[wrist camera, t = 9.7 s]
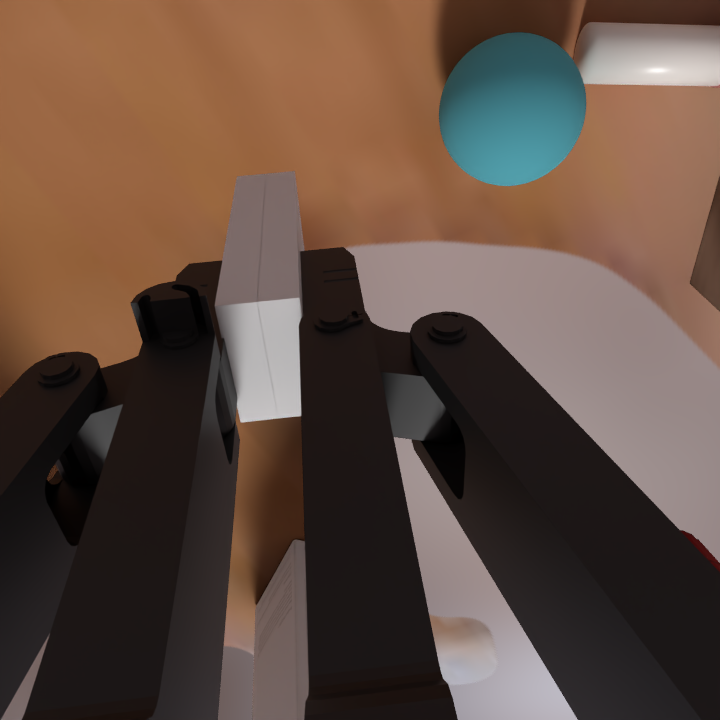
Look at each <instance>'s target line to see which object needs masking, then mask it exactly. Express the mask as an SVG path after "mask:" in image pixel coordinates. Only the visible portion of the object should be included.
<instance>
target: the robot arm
mask: <svg viewBox="0 0 720 720" xmlns="http://www.w3.org/2000/svg"><path fill="white" fill-rule="evenodd" d="M131 306H132V309H133V313H134V316H135V319H136V322H137V325H138V328H139V332H140V335H141V338H142V341H143V343H142V346H141V349H140V352H139V356H137V357H135V358H133V359H130V360H127V361H124V362H121V363H118V364H114V365H111V366H108V367H104V368H100V366H99V363H98V360H97V358H95V357H94V356H92V355H91V354H89V353H83V352H67V353H66V352H65V353H59V354H57V355H52V356H49V357H47V358H46V359H44V360H42V361H40V362H38V363H36V364H34V365H33V366H32V367H30V368H29V369H28V370H27V371H25V372H24V373H23V374H22V375H21V377H20V378H19V379H18V380H17V381H16V382H15V383H14V384H13V385H12V386H11V387H10V388H9V389H8V391H7V392H6V393H5V394H4V395H3V396H2V397H1V398H0V720H1V719H2V717H3V715H4V713H5V711H6V710H7V708H8V706H9V704H10V703H11V701H12V699H13V697H14V696H15V694H16V692H17V690H18V689H19V687H20V685H21V683H22V682H23V680H24V678H25V676H26V674H27V673H28V671H29V669H30V667H31V666H32V664H33V662H34V660H35V659H36V657H37V655H38V653H39V652H40V650H41V648H42V646H43V645H44V643H45V641H46V639H47V637H48V636H49V638H48V641H47V644H46V647H45V650H44V654H43V657H42V660H41V663H40V666H39V669H38V672H37V676H36V679H35V682H34V685H33V688H32V691H31V694H30V698H29V701H28V704H27V707H26V710H25V713H24V715H23V718H22V720H218V707H219V695H220V682H221V670H222V658H223V657H222V656H223V645H224V633H225V620H226V607H227V595H228V582H229V570H230V557H231V544H232V532H233V519H234V507H235V494H236V481H237V469H238V456H239V444H240V439H239V434H238V430H237V425H236V421H235V419H236V408H238V412H239V417H240V421H241V422H250V421H259V420H268V419H277V418H287V417H296V416H301V425H302V461H303V496H304V531H305V567H306V602H307V638H308V673H309V691H308V697H307V699H306V701H305V714H304V720H458V719H457V715H456V711H455V707H454V702H453V698H452V695H451V692H450V689H449V686H448V684H447V683H446V681H445V680H444V679H443V677H442V674H441V671H440V666H439V662H438V657H437V652H436V647H435V642H434V637H433V632H432V627H431V622H430V617H429V612H428V607H427V603H426V597H425V592H424V588H423V582H422V577H421V572H420V567H419V562H418V558H417V552H416V547H415V543H414V537H413V532H412V527H411V522H410V517H409V513H408V508H407V502H406V497H405V492H404V487H403V483H402V477H401V472H400V467H399V462H398V458H397V453H396V447H395V443H394V437H398V438H406V439H412V443H413V447H414V450H415V451H416V453H417V455H418V456H419V458H420V460H421V461H422V463H423V465H424V466H425V468H426V470H427V471H428V473H429V474H430V476H431V478H432V479H433V481H434V483H435V484H436V486H437V488H438V489H439V491H440V492H441V494H442V496H443V498H444V499H445V501H446V503H447V504H448V506H449V508H450V509H451V511H452V512H453V514H454V516H455V517H456V519H457V521H458V522H459V524H460V526H461V527H462V529H463V531H464V532H465V534H466V535H467V537H468V539H469V541H470V542H471V544H472V546H473V547H474V549H475V550H476V552H477V553H478V555H479V557H480V558H481V560H482V562H483V564H484V565H485V567H486V569H487V570H488V572H489V574H490V575H491V577H492V578H493V580H494V582H495V583H496V585H497V587H498V588H499V590H500V592H501V593H502V595H503V597H504V598H505V600H506V602H507V603H508V605H509V607H510V608H511V610H512V611H513V613H514V615H515V617H516V618H517V620H518V621H519V623H520V625H521V626H522V628H523V630H524V631H525V633H526V635H527V636H528V638H529V639H530V641H531V643H532V645H533V646H534V648H535V650H536V651H537V653H538V655H539V656H540V658H541V659H542V661H543V663H544V664H545V666H546V668H547V669H548V671H549V673H550V674H551V676H552V678H553V679H554V681H555V683H556V684H557V686H558V687H559V689H560V691H561V692H562V694H563V696H564V697H565V699H566V701H567V702H568V704H569V706H570V707H571V709H572V710H573V712H574V714H575V715H576V717H577V719H578V720H720V572H719V571H718V570H717V569H716V568H715V567H714V566H713V564H712V563H711V562H710V561H709V560H708V559H707V558H706V557H705V556H704V555H703V554H702V553H701V552H700V551H699V550H698V549H697V548H696V547H695V546H694V545H693V544H692V543H691V542H690V540H689V539H688V538H687V537H686V536H685V535H684V534H683V533H682V532H681V531H680V530H679V529H678V528H677V527H676V526H675V525H674V524H673V523H672V522H671V521H670V520H669V519H668V518H667V517H666V516H665V514H664V513H663V512H662V511H661V510H660V509H659V508H658V507H657V506H656V505H655V504H654V503H653V502H652V501H651V500H650V499H649V498H648V497H647V496H646V495H645V494H644V493H643V491H642V490H641V489H640V488H639V487H638V486H637V485H636V484H635V483H634V482H633V481H632V480H631V479H630V478H629V477H628V476H627V475H626V474H625V473H624V472H623V471H622V470H621V469H620V467H619V466H618V465H617V464H616V463H614V461H613V460H612V459H611V458H610V457H609V456H608V455H607V454H606V453H605V452H604V451H603V450H602V449H601V448H600V447H599V446H598V445H597V444H596V442H594V440H593V439H592V438H591V437H590V436H589V435H588V434H587V433H586V432H585V431H584V430H583V429H582V428H581V427H580V426H579V425H578V424H577V423H576V422H575V421H574V420H573V419H572V417H570V415H569V414H568V413H567V412H566V411H565V410H564V409H563V408H562V407H561V406H560V405H559V404H558V403H557V402H556V401H555V400H554V399H553V398H552V397H551V396H550V394H549V393H548V392H547V391H546V390H545V389H544V388H543V387H542V386H541V385H540V384H539V383H538V382H537V381H536V380H535V379H534V378H533V377H532V376H531V375H530V374H529V373H528V372H527V371H526V369H524V368H523V366H522V365H521V364H520V363H518V361H517V360H516V359H515V358H514V357H513V356H512V355H511V354H510V353H509V352H508V351H507V350H506V349H505V348H504V347H503V346H502V344H501V343H500V342H499V341H498V340H497V339H496V338H495V337H494V336H493V335H492V334H491V333H490V332H489V331H488V330H487V329H486V328H485V327H484V326H483V325H482V324H481V323H480V322H479V321H477V320H476V319H474V318H473V317H471V316H468V315H465V314H461V313H457V312H439V313H432V314H429V315H426V316H424V317H421V318H420V319H418V320H417V321H416V322H415V323H414V324H413V325H412V328H411V331H410V333H408V332H398V331H392V330H387V329H384V328H381V327H379V326H377V325H375V324H374V323H372V322H371V321H370V318H369V316H368V315H367V313H366V312H365V309H364V304H363V298H362V293H361V288H360V283H359V279H358V273H357V268H356V263H355V258H354V256H353V255H352V254H351V253H350V252H348V251H347V250H346V249H345V248H344V247H340V248H329V249H319V250H309V251H304V244H303V235H302V227H301V219H300V211H299V202H298V194H297V186H296V178H295V171H292V172H281V173H270V174H259V175H248V176H238V177H237V180H236V186H235V191H234V197H233V203H232V209H231V214H230V220H229V226H228V232H227V237H226V243H225V249H224V255H223V260H222V261H213V262H202V263H192V264H189V265H188V266H186V267H185V268H184V269H183V270H182V271H181V272H180V273H179V274H178V275H177V277H176V281H173V282H167V283H162V284H158V285H156V286H153V287H150V288H148V289H146V290H144V291H143V292H141V293H140V294H138V295H136V297H135V298H134V299H133V301H132V302H131ZM54 464H55V465H56V467H57V469H58V471H57V472H56V474H55V475H54V477H53V478H52V479H51V480H50V481H48V480H47V477H48V475H49V472H50V470H51V469H52V467H53V466H54ZM49 634H50V635H49Z"/></svg>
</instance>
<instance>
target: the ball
mask: <svg viewBox="0 0 720 720" xmlns="http://www.w3.org/2000/svg"><path fill="white" fill-rule="evenodd" d="M585 112H586V93H585V87H584V83H583V79H582V77H581V74H580V71H579V69H578V68H577V66H576V64H575V63H574V61H573V59H572V58H571V57H570V56H569V55H568V53H567V52H566V51H564V50H563V49H562V48H561V47H560V46H559V45H557V44H556V43H554V42H553V41H551V40H549V39H547V38H545V37H542V36H539V35H535V34H531V33H523V32H516V33H506V34H502V35H497V36H495V37H492V38H490V39H487V40H485V41H483V42H482V43H480V44H478V45H477V46H475V47H474V48H473V49H471V50H470V51H469V52H468V53H467V54H466V55H465V56H464V57H463V58H462V59H461V60H460V61H459V62H458V63H457V65H456V66H455V67H454V69H453V71H452V72H451V74H450V75H449V77H448V79H447V81H446V84H445V86H444V89H443V92H442V96H441V101H440V108H439V123H440V131H441V135H442V138H443V141H444V144H445V146H446V148H447V150H448V152H449V154H450V156H451V157H452V158H453V160H454V161H455V162H456V163H457V164H458V165H459V166H460V168H461V169H462V170H464V171H465V172H466V173H468V174H469V175H471V176H472V177H474V178H476V179H478V180H480V181H483V182H485V183H488V184H493V185H500V186H513V185H519V184H524V183H528V182H531V181H534V180H536V179H538V178H540V177H542V176H544V175H546V174H547V173H549V172H550V171H551V170H553V169H554V168H555V167H557V166H558V165H559V164H560V163H561V162H562V161H563V160H564V159H565V157H566V156H567V155H568V154H569V152H570V151H571V150H572V148H573V146H574V145H575V143H576V141H577V139H578V137H579V135H580V132H581V130H582V127H583V123H584V119H585Z"/></svg>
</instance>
